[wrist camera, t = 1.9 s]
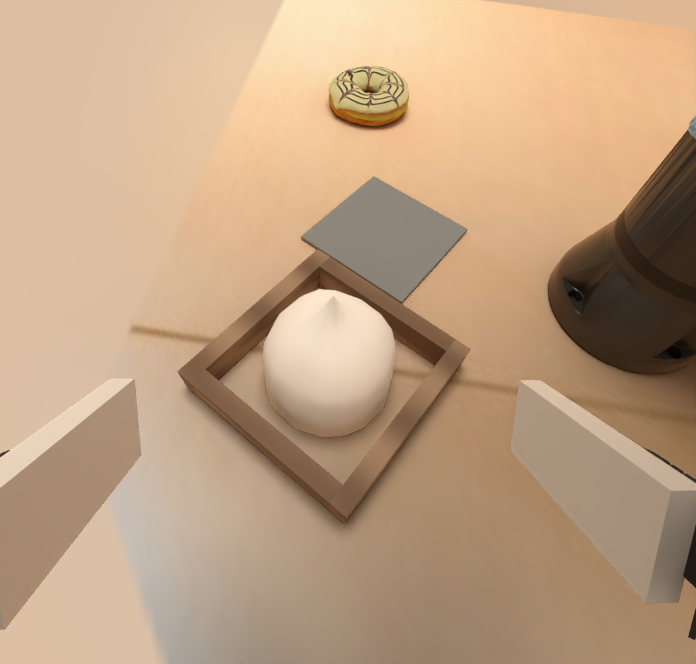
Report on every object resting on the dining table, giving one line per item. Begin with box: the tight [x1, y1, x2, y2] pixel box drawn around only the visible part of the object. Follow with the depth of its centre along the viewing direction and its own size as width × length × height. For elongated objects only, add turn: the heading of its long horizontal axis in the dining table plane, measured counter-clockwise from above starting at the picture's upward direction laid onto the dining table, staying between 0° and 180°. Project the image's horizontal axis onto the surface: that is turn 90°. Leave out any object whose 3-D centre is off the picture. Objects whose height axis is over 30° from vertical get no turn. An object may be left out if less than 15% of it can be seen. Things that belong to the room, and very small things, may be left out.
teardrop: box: [263, 289, 396, 437], centre depth 32 cm, size 11×11×12 cm
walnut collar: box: [178, 249, 470, 523], centre depth 36 cm, size 17×17×3 cm
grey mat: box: [301, 176, 467, 304], centre depth 46 cm, size 13×13×1 cm
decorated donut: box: [329, 66, 409, 126], centre depth 58 cm, size 10×11×4 cm
